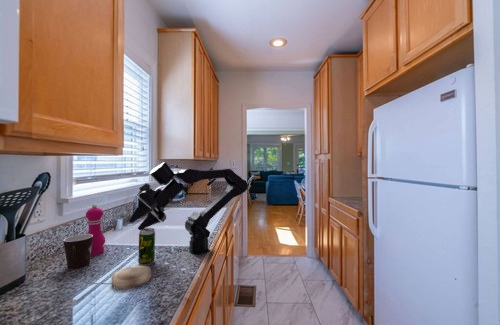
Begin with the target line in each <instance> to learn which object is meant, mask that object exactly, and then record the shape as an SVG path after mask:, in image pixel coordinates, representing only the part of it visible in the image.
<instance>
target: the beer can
mask: <svg viewBox="0 0 500 325" xmlns="http://www.w3.org/2000/svg"><path fill="white" fill-rule="evenodd" d="M155 248H156V230H155V228H153V227H146V228H144V229H141V230H139V232H138V256H137V258H138V261H137V262H138V266H148V267H149V266H150V265H153V264H154V263H155V256H156V255H155V254H156V253H155V252H156V251H155V250H156V249H155Z"/></svg>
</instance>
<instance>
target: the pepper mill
mask: <svg viewBox="0 0 500 325" xmlns="http://www.w3.org/2000/svg"><path fill="white" fill-rule="evenodd" d="M103 217H104V211H103V209H102V208H100V207H98V204H96V203H94V204H92V205H91V208H89V209H88V210H87V211H86V212H85V218H86V219H87V222H86V224H87V225H88V232H87V234H92V235H93V240H92V248H91V256H90V257H92V256H97V255H101V254H103V253H104V252H105V246H104V245H105V243H106V237H105V235H104V233H103V232H102V228H101V225H102V224H101V223H103V219H102V218H103Z"/></svg>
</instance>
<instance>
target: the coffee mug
mask: <svg viewBox="0 0 500 325" xmlns="http://www.w3.org/2000/svg"><path fill="white" fill-rule="evenodd" d="M92 240H93V235H92V234H88V233H84V234H76V235H72V236H68V237H65V238H63V247H64V253H65V260H66V266H67V270H70V271H71V270H72V271H73V270H74V271H75V270H79V269H83V268H84V269H85V268H86V267H88V266H89V265H90V264H91V257H92V256H91V248H92Z"/></svg>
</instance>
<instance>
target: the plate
mask: <svg viewBox="0 0 500 325" xmlns="http://www.w3.org/2000/svg"><path fill="white" fill-rule="evenodd" d="M151 279H152V268H151V267H149V265H148V266H141V265H133V266H129V267H125V268H122V269H120V270H117V271H116V272H114V273H113V274H112V275H111V287H112V288H114V287H115V289H116V288H118V290H127V289H133V288H137V287H140V286H142V285H144V284H146V283H147V282H149V281H150V280H151Z"/></svg>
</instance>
